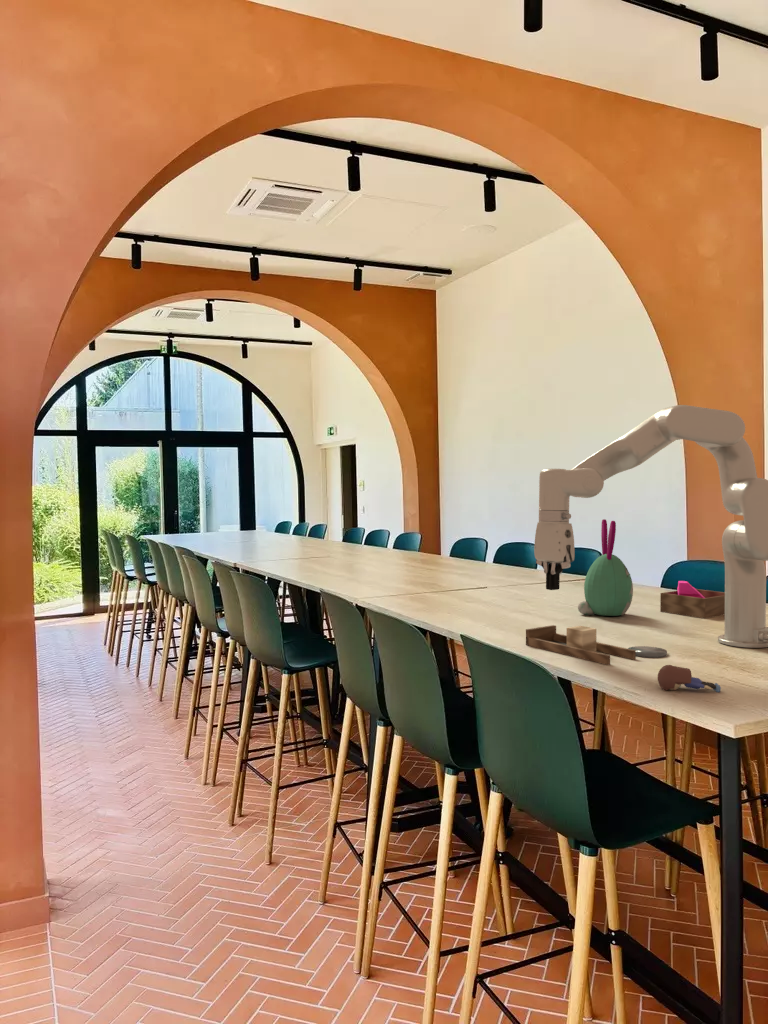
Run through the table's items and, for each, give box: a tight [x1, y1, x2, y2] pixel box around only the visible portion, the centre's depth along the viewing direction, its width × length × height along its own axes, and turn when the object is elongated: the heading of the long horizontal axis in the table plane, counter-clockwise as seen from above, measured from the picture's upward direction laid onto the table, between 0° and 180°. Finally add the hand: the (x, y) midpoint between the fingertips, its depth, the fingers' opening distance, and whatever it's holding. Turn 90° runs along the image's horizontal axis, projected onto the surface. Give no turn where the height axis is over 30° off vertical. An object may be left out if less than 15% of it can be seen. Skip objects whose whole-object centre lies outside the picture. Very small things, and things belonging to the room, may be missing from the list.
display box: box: [659, 588, 725, 619], centre depth 237 cm, size 15×17×6 cm
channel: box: [525, 624, 637, 666], centre depth 182 cm, size 26×10×4 cm, turn 34°
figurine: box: [657, 664, 722, 693], centre depth 147 cm, size 5×5×12 cm
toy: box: [577, 518, 634, 617], centre depth 233 cm, size 15×17×30 cm
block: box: [566, 625, 597, 652], centre depth 181 cm, size 5×5×6 cm
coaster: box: [627, 645, 668, 659], centre depth 179 cm, size 9×9×1 cm
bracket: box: [676, 580, 705, 598], centre depth 237 cm, size 12×10×10 cm
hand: (552, 589), depth 188 cm, fingers closed
